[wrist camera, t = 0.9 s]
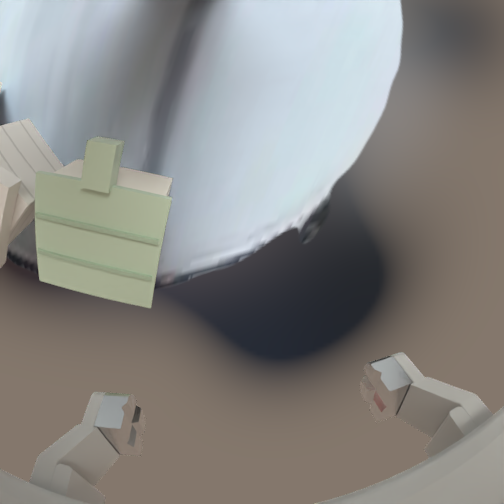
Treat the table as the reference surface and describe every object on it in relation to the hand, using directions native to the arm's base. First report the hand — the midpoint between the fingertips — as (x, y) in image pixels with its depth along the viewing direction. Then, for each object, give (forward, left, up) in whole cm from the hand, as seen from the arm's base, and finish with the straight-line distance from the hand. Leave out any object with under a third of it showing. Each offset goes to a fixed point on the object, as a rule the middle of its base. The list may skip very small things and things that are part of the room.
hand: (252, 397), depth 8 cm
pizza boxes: (+6, -39, -41) cm, 57 cm away
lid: (+11, -14, -30) cm, 35 cm away
